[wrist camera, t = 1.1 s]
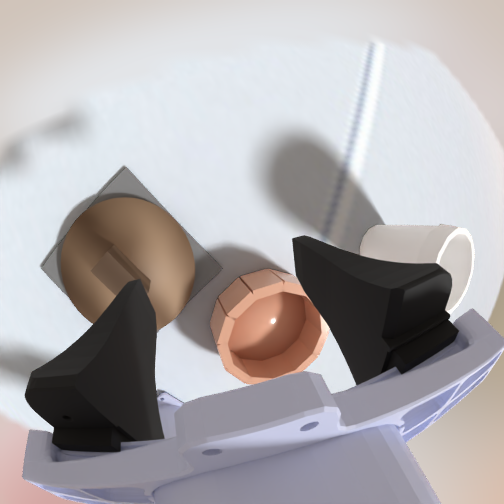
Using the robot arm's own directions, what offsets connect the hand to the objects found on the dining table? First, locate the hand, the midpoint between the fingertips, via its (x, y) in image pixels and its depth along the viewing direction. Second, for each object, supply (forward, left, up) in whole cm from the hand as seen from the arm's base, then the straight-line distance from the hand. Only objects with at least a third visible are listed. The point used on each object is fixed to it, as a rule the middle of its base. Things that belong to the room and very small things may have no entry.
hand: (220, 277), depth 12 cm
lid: (-7, +2, -15) cm, 17 cm away
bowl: (-1, -13, -15) cm, 20 cm away
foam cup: (+16, -18, -15) cm, 28 cm away
